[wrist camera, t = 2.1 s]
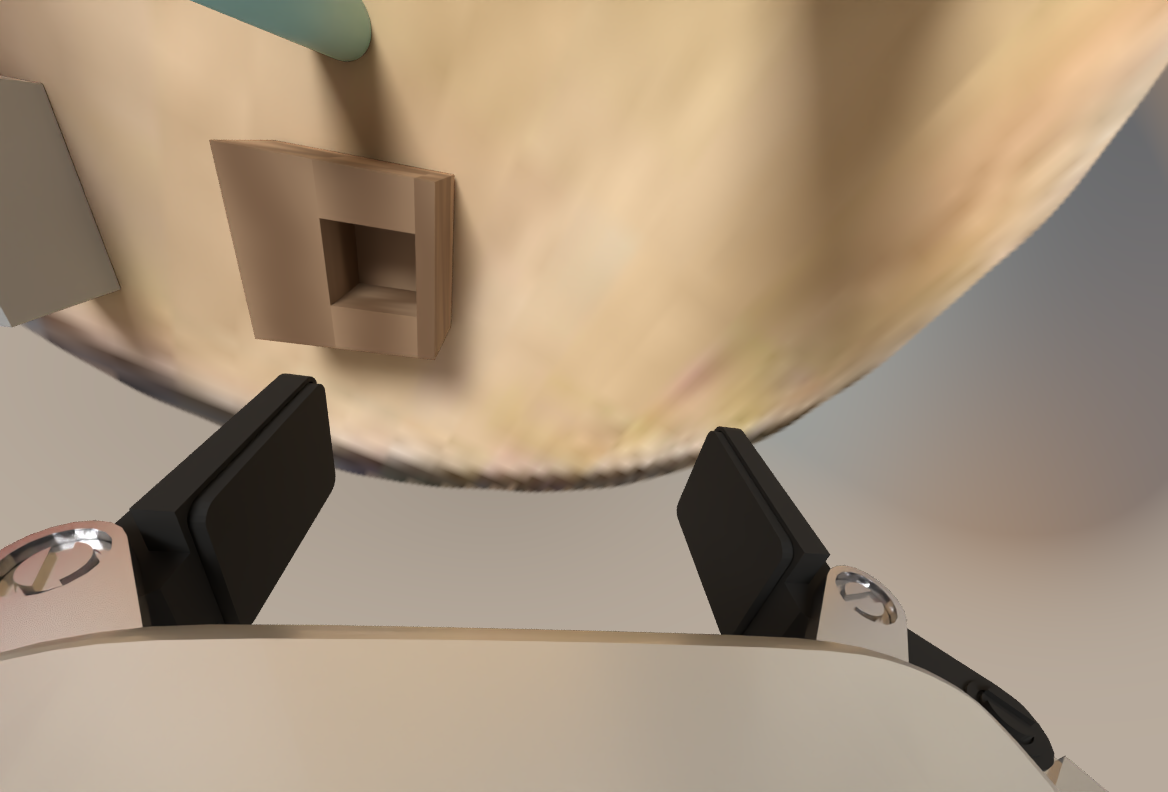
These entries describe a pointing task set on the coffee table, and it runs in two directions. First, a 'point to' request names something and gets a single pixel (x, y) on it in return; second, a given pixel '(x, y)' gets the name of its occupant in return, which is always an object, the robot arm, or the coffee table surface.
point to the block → (339, 246)
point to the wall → (43, 214)
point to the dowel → (306, 22)
